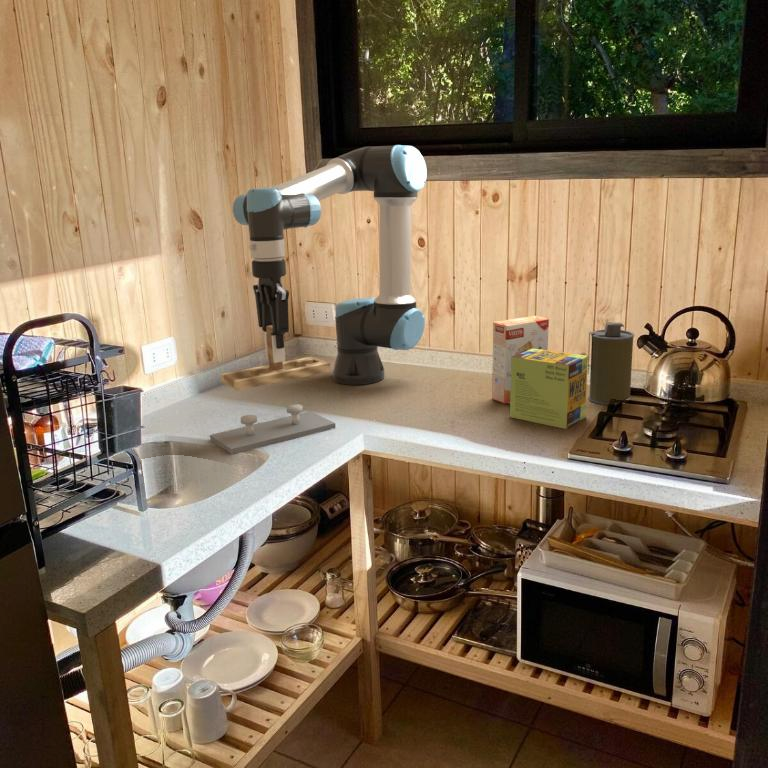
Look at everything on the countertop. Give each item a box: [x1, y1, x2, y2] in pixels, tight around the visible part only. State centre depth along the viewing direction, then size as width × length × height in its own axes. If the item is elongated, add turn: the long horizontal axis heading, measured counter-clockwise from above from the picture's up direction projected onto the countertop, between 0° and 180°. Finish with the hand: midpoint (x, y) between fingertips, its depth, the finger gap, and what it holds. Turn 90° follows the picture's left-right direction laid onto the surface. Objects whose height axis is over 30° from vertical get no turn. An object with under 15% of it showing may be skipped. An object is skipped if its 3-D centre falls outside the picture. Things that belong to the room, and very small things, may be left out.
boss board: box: [209, 404, 336, 455], centre depth 189 cm, size 27×12×5 cm, turn 125°
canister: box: [587, 321, 635, 406], centre depth 203 cm, size 11×10×20 cm
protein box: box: [509, 349, 588, 429], centre depth 192 cm, size 10×15×16 cm
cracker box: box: [491, 315, 550, 405], centre depth 207 cm, size 14×6×21 cm, turn 119°
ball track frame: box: [220, 325, 331, 391], centre depth 185 cm, size 24×9×12 cm, turn 125°
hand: (275, 359), depth 185 cm, fingers closed on ball track frame, 3 cm apart
